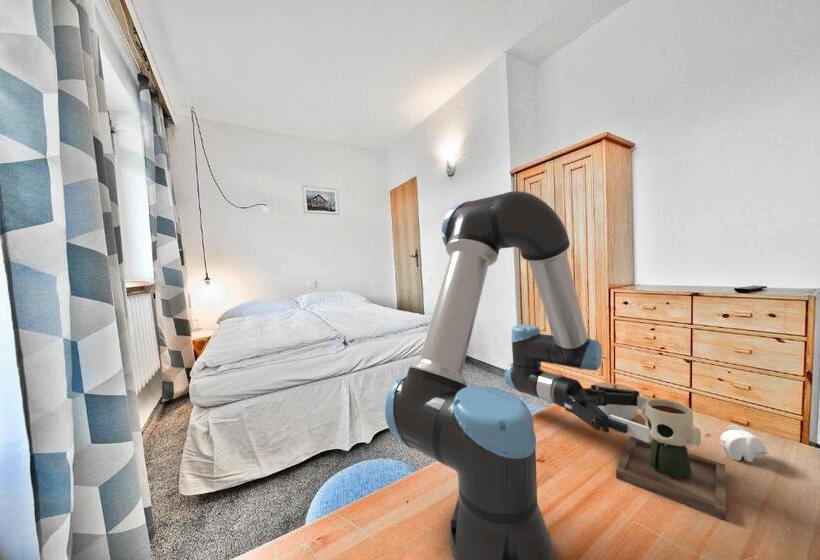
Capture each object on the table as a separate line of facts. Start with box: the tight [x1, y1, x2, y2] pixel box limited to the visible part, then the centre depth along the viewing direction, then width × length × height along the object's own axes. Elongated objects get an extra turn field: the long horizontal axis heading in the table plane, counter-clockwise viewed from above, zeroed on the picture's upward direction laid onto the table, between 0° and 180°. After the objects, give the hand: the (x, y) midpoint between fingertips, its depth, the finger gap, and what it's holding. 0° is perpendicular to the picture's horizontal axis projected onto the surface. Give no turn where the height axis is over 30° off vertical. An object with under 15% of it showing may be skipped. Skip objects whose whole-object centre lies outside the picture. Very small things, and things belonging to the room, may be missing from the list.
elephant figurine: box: [716, 424, 770, 463], centre depth 63 cm, size 7×8×6 cm
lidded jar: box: [593, 382, 639, 421], centre depth 81 cm, size 11×11×9 cm
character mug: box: [640, 398, 702, 478], centre depth 59 cm, size 11×7×13 cm, turn 10°
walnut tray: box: [615, 436, 727, 522], centre depth 59 cm, size 15×15×2 cm
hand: (662, 423), depth 60 cm, fingers open, 13 cm apart
